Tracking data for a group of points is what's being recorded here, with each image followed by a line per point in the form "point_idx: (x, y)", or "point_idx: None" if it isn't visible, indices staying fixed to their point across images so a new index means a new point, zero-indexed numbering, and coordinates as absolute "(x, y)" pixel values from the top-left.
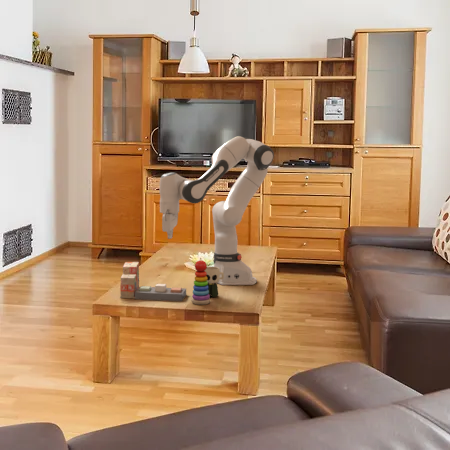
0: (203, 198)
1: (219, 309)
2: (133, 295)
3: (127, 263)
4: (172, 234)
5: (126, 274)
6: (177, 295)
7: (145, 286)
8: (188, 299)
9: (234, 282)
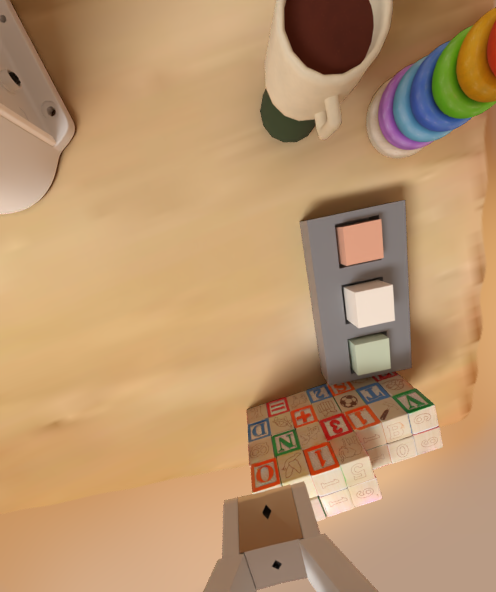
0: None
1: (477, 4)
2: None
3: None
4: (236, 545)
5: (380, 454)
6: (402, 218)
7: (360, 361)
8: (358, 189)
9: (28, 63)
